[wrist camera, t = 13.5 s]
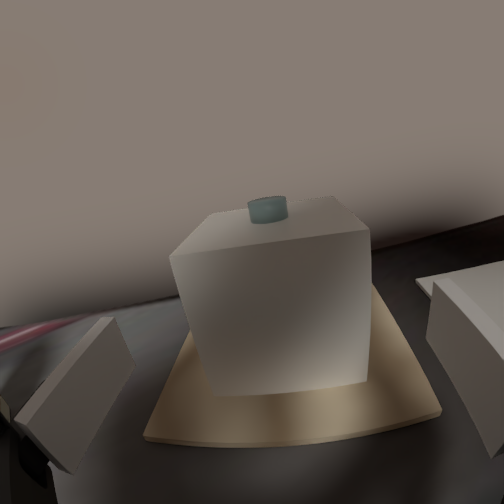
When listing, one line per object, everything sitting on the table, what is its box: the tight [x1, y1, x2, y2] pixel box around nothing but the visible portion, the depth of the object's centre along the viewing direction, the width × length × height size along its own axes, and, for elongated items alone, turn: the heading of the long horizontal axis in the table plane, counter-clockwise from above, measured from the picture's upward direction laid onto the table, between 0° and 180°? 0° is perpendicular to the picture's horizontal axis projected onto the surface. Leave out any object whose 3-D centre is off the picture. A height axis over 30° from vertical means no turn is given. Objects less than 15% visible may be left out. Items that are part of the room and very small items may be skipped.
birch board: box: [143, 282, 442, 448], centre depth 22 cm, size 18×18×1 cm
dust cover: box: [169, 196, 371, 396], centre depth 20 cm, size 10×10×11 cm
